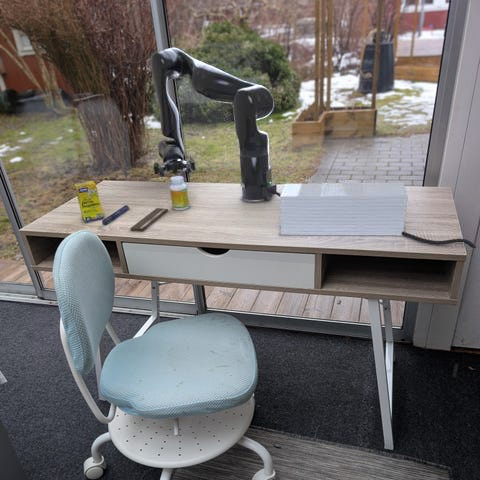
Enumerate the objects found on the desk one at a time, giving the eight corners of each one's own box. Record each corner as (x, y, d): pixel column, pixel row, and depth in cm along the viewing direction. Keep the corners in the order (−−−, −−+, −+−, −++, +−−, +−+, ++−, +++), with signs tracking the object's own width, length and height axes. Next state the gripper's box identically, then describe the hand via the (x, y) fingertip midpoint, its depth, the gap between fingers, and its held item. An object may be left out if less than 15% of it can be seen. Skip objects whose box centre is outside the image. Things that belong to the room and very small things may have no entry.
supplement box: (85, 223, 148) (76, 188, 142) (82, 217, 153) (73, 183, 147) (104, 218, 150) (96, 184, 144) (100, 213, 155) (92, 180, 149)
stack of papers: (398, 220, 133) (403, 182, 127) (402, 235, 124) (408, 195, 118) (284, 220, 138) (283, 183, 133) (280, 234, 130) (279, 196, 124)
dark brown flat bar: (156, 210, 153) (156, 207, 153) (168, 210, 152) (167, 208, 152) (130, 230, 140) (130, 228, 140) (142, 231, 139) (142, 228, 138)
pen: (125, 208, 157) (124, 203, 156) (130, 209, 156) (129, 204, 155) (101, 225, 145) (100, 220, 144) (106, 225, 145) (105, 220, 144)
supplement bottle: (186, 210, 151) (182, 180, 146) (170, 210, 152) (165, 180, 147) (191, 204, 156) (187, 175, 150) (175, 204, 157) (171, 175, 152)
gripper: (151, 151, 169) (152, 163, 156) (191, 147, 171) (195, 158, 157) (155, 172, 174) (156, 185, 160) (194, 168, 175) (197, 181, 162)
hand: (175, 172), depth 159 cm, fingers open, 8 cm apart
